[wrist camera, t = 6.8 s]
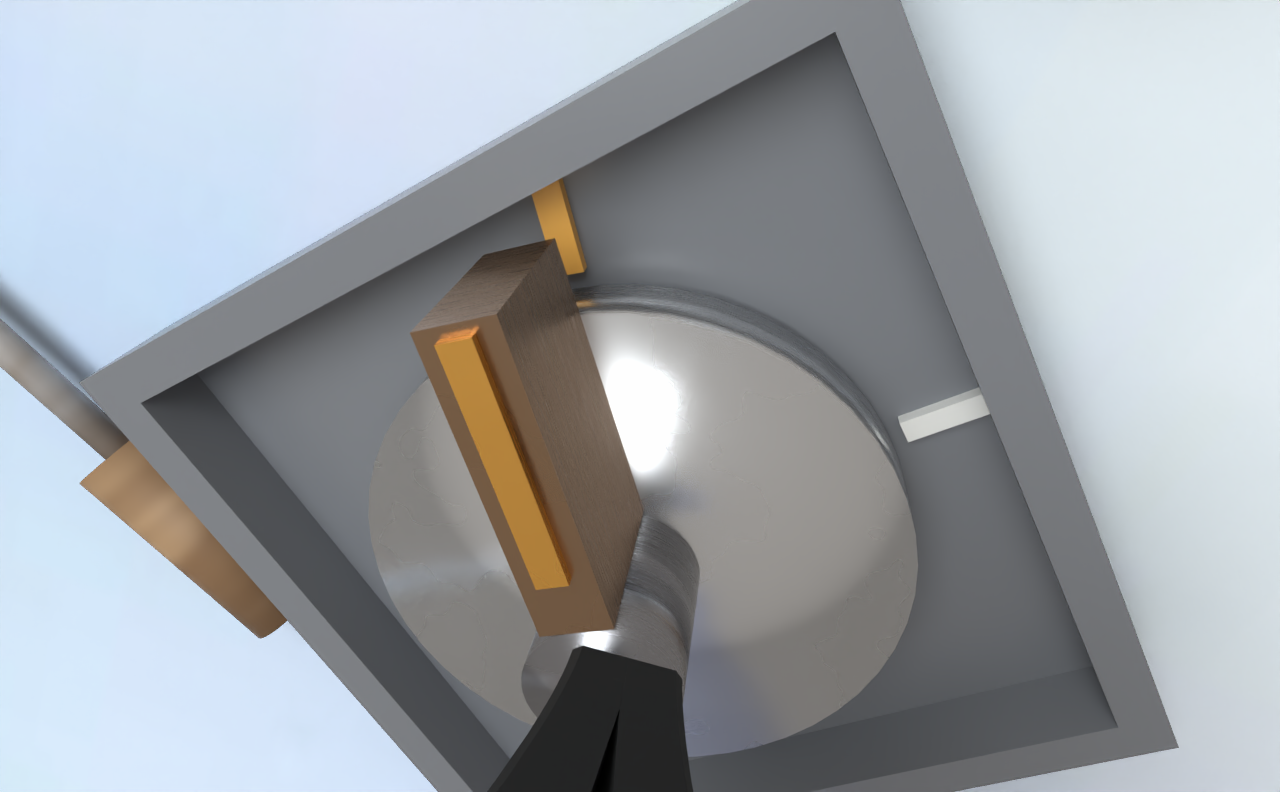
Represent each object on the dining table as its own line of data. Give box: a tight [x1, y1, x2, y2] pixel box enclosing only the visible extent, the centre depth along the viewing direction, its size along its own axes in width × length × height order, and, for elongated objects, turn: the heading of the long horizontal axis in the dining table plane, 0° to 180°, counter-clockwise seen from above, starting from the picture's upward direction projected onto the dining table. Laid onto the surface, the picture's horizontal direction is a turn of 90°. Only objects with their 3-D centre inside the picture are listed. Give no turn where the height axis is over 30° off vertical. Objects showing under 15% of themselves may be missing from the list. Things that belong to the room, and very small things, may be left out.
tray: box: [79, 0, 1179, 792], centre depth 20 cm, size 18×18×3 cm
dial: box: [368, 238, 918, 757], centre depth 17 cm, size 14×12×5 cm
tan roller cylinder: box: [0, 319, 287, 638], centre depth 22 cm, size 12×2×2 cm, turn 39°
